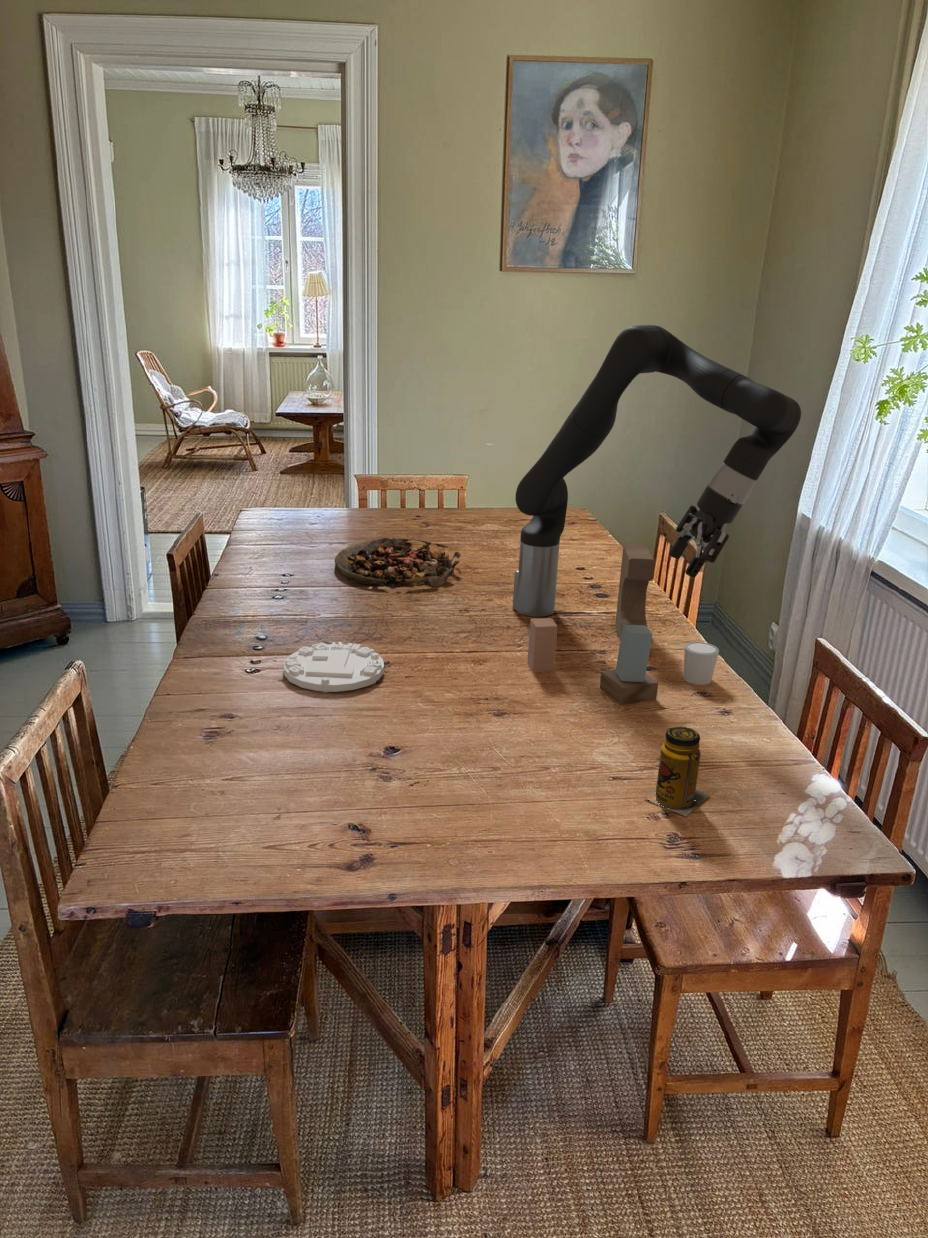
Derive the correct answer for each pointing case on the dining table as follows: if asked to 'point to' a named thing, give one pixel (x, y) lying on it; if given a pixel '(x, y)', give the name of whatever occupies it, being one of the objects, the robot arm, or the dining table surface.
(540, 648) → the terracotta pillar
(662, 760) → the condiment
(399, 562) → the food dish
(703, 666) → the white short cylinder
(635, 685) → the walnut plinth
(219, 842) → the dining table surface
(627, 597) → the decorative block
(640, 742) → the dining table surface
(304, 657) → the embossed medallion
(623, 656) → the blue pillar
